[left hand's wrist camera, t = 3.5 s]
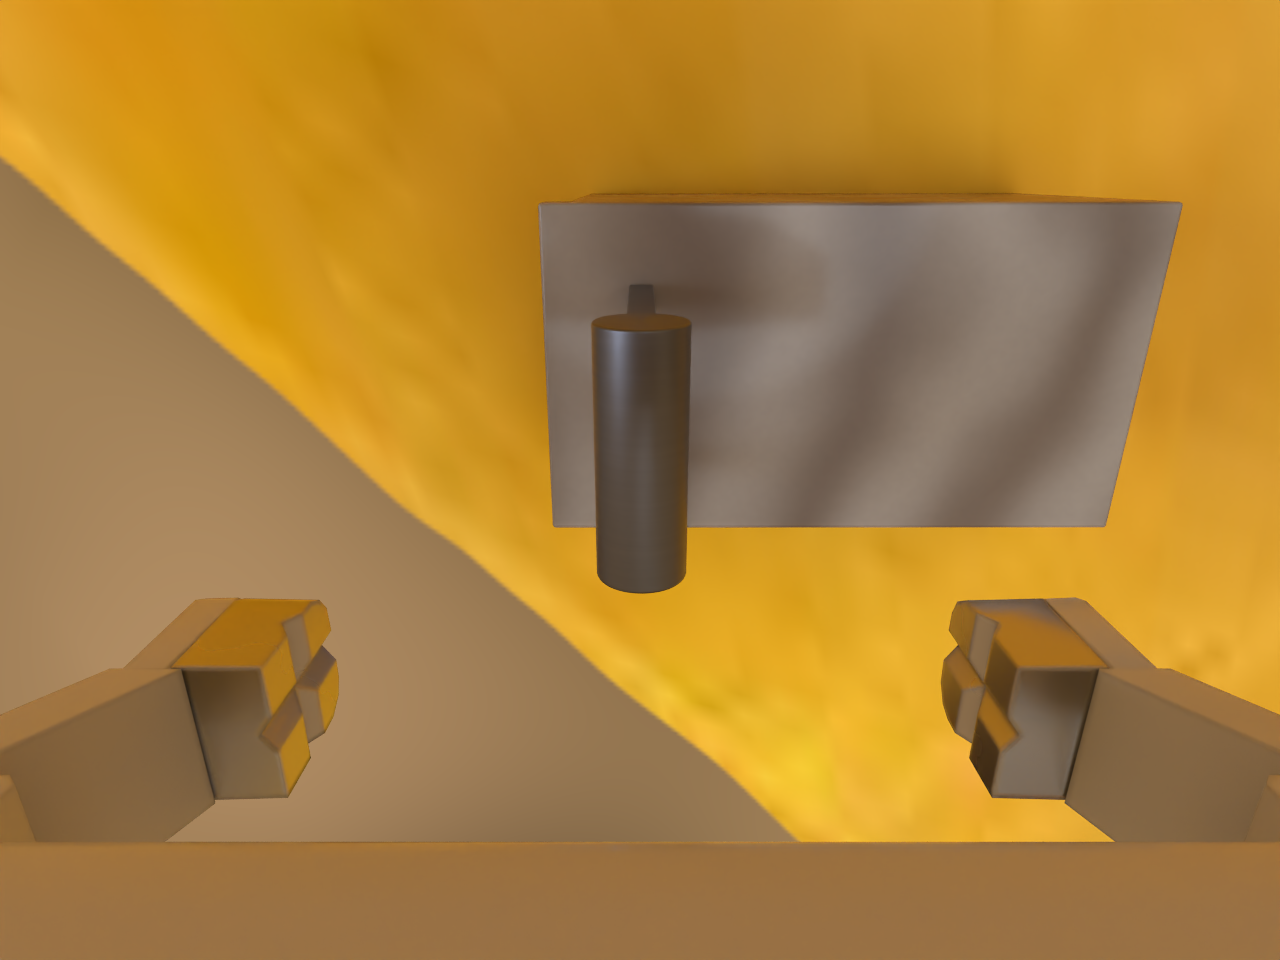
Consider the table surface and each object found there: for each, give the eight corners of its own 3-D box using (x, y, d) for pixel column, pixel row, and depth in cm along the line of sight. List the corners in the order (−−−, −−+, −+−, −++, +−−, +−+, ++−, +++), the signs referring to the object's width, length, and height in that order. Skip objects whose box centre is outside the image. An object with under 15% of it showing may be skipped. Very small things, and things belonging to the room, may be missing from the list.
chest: (594, 429, 35) (579, 515, 27) (589, 194, 32) (569, 201, 23) (976, 429, 35) (1089, 514, 27) (1016, 193, 32) (1161, 201, 23)
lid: (555, 515, 27) (516, 673, 18) (541, 201, 23) (484, 217, 14) (1089, 515, 26) (1296, 672, 18) (1162, 200, 23) (1465, 216, 14)
